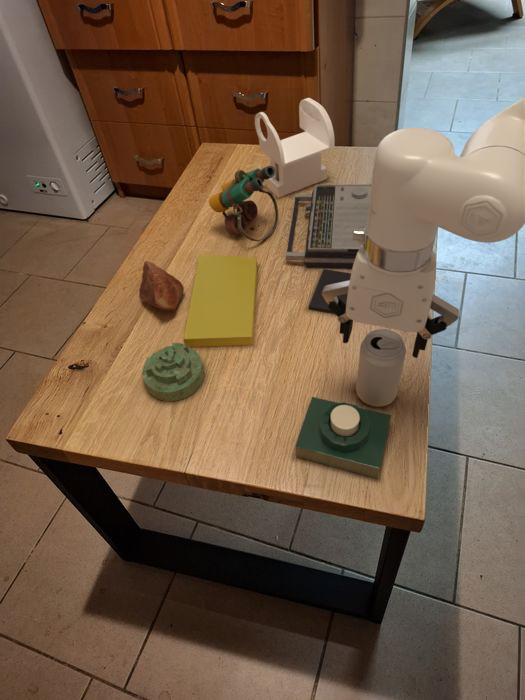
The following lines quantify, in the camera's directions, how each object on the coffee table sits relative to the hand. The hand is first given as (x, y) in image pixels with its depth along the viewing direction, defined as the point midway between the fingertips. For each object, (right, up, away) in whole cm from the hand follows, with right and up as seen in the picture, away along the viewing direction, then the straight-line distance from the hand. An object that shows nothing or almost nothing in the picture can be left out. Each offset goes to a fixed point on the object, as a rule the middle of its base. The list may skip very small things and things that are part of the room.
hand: (381, 343), depth 68 cm
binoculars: (-20, +26, +41) cm, 53 cm away
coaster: (-1, +10, +24) cm, 26 cm away
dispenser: (-5, -15, +4) cm, 16 cm away
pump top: (-5, -12, 0) cm, 13 cm away
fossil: (-36, +9, +28) cm, 47 cm away
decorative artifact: (-32, -6, +15) cm, 35 cm away
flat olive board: (-24, +9, +26) cm, 37 cm away
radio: (-1, +25, +37) cm, 45 cm away
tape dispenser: (-9, +41, +52) cm, 67 cm away
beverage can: (+1, -8, +9) cm, 12 cm away
